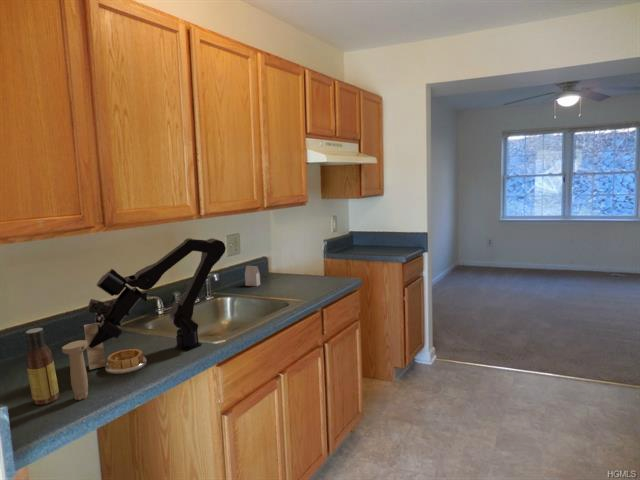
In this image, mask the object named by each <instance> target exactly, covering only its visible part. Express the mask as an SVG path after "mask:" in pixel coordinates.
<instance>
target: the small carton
mask: <svg viewBox="0 0 640 480" xmlns="http://www.w3.org/2000/svg"><path fill="white" fill-rule="evenodd" d="M244 271H245V272H244V281H245V286H246V287H247V286H248V287H258V286H261V274H260V270H259V267H258V265H257V266H256V265H255V266H253V265H246V266H245V270H244Z"/></svg>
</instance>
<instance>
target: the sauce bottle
mask: <svg viewBox="0 0 640 480" xmlns="http://www.w3.org/2000/svg"><path fill="white" fill-rule="evenodd" d="M44 334H45V332H44V328H43V327H36V328H30V329H28V330H26V331H25V338H26V340H27V347H28V349H27V353H26V355H25V366H26V370H27V376H28V383H29V386H30V392H31V397H32V399H33V403H34V404H35V405H40V406H43V405H46V404H51V403H53V402H55V401H57V400H58V399H59V397H60V393H59V390H60V389H59V385H58V378H57V373H56V368H55V361H54V359H53V354H52V350H51V349H50V347H49V346H47V344H46V342H45V336H44Z"/></svg>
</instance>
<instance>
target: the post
mask: <svg viewBox="0 0 640 480" xmlns="http://www.w3.org/2000/svg"><path fill="white" fill-rule="evenodd" d="M97 324H99V325H100V322H99V323H96V322H95V323H90V324H84V325H83V328H84V330H83V331H84V336H85V337H84V338H85V339H84V340H85V341H88V346H87V348H86V353H87V361H88V368H89V370H90V371H91V370H95V369H98V368H99V369H100V368H105V365H106V359H105V357H106V356H105V349H104V342H102V343H100V344H99V345H97V346H95V347H93V348H90V347H89V345H90V343H91V341H92V340H93V338H94V336H95V335H96V333H97V332H98V326H97Z"/></svg>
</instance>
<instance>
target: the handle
mask: <svg viewBox="0 0 640 480" xmlns="http://www.w3.org/2000/svg"><path fill="white" fill-rule="evenodd" d="M87 346H88V341H86V339H84V340H83V339H82V340H74V341H71V342H69V343H67V344H65V345H63V346H62V347H61V350H62V351H61V352H62V353H63V354H64V355H65V354H66V355H68V358H69V370H70V371H69V373H70V385H71V388H72V393H73V394H74V395H73V397H74V398H73V399H75V400H78V401H81V400H85V399H87V397H88V395H89V391H88V389H89V382H88V380H89V379H88V374H87V369H86V362H85V357H84V351H85V350H87Z"/></svg>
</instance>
